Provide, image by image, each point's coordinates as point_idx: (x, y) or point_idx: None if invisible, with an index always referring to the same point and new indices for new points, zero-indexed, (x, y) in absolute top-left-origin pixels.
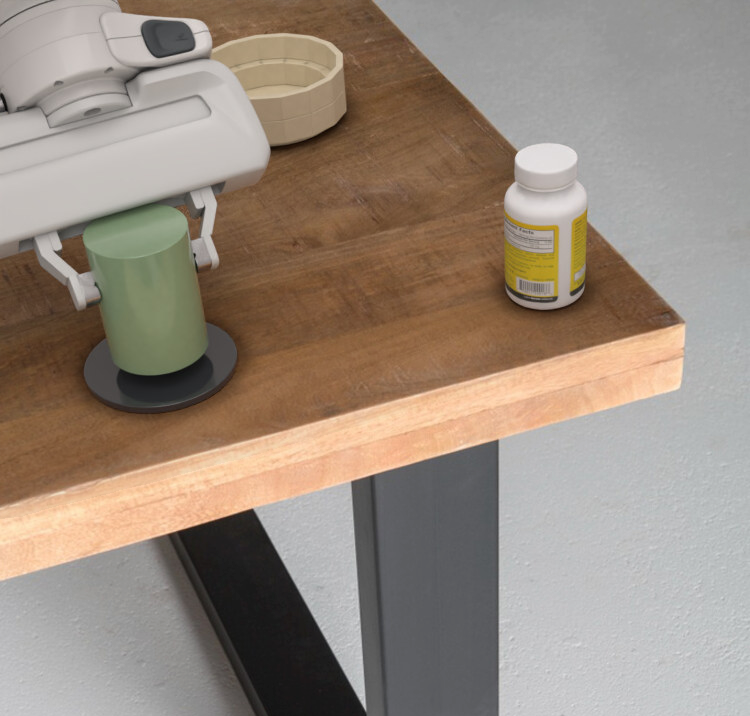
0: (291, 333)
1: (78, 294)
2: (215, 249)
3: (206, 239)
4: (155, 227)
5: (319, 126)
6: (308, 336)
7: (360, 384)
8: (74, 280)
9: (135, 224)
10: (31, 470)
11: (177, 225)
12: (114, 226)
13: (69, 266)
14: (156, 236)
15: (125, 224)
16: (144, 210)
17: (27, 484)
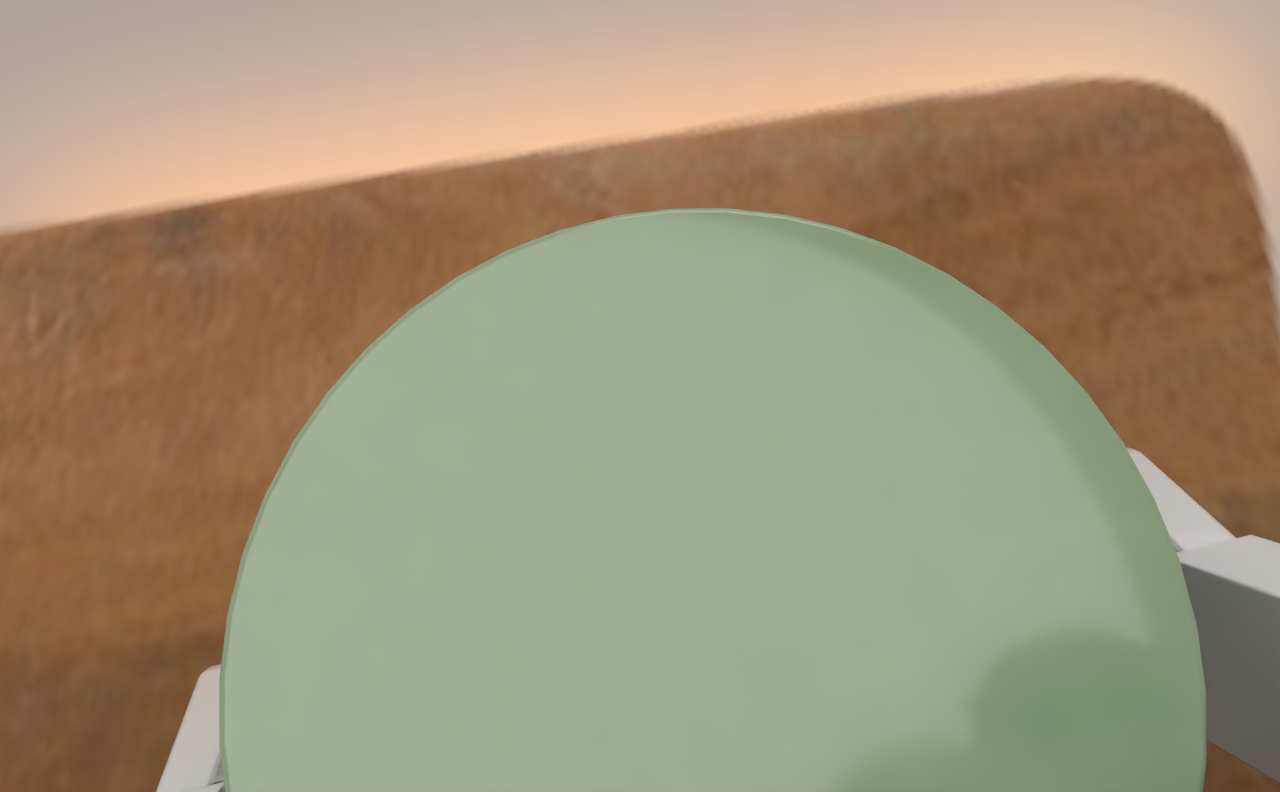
0: (161, 745)
1: (1136, 466)
2: (187, 712)
3: (199, 770)
4: (515, 623)
5: None
6: (106, 700)
7: (41, 343)
8: (1186, 521)
9: (690, 745)
10: (1186, 190)
11: (321, 591)
12: (895, 780)
13: (1253, 589)
14: (529, 460)
15: (786, 783)
16: None
17: (1192, 127)
